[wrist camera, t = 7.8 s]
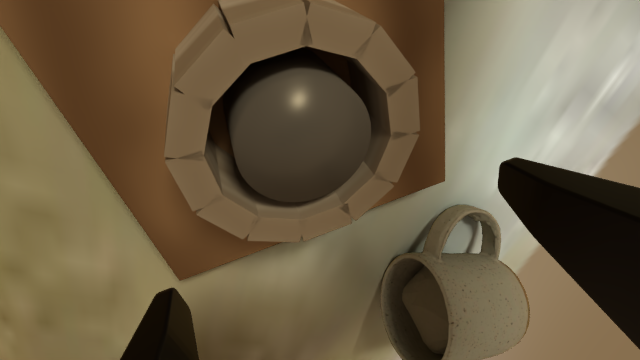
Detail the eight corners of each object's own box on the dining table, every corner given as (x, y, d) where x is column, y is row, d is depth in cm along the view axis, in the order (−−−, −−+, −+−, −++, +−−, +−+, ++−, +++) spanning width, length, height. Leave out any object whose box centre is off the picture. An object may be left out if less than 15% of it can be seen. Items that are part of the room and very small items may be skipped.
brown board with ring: (413, -176, 14) (530, -223, 9) (427, 163, 24) (488, 224, 19) (-30, -64, 12) (-159, -53, 8) (179, 254, 22) (179, 346, 17)
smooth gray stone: (322, 26, 15) (359, 55, 12) (344, 130, 18) (378, 175, 15) (203, 66, 15) (210, 106, 12) (246, 166, 18) (260, 220, 15)
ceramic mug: (449, 297, 34) (510, 379, 27) (369, 305, 31) (416, 399, 24) (505, 199, 29) (594, 273, 22) (415, 196, 26) (491, 280, 19)
